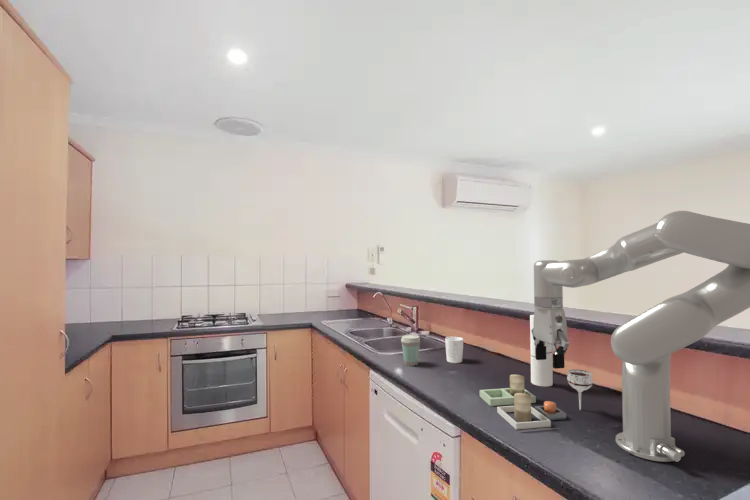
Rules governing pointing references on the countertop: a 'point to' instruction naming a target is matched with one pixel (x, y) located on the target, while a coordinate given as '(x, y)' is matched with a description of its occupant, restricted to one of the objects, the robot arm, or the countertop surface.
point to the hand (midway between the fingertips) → (549, 363)
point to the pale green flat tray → (501, 396)
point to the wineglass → (579, 381)
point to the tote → (524, 425)
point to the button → (549, 407)
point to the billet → (522, 407)
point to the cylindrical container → (540, 363)
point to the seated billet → (516, 384)
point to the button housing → (551, 416)
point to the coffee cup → (410, 349)
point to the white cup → (454, 349)
